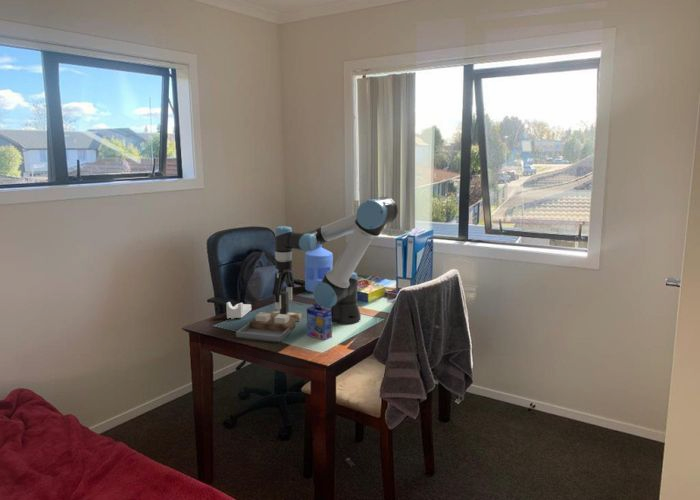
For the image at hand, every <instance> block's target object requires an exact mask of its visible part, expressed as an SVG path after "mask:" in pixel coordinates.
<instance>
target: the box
mask: <svg viewBox="0 0 700 500" xmlns="http://www.w3.org/2000/svg"><path fill="white" fill-rule="evenodd" d="M290 335H291V331H290V328H287V329H286V330H285V331H284V332H281V331H272V330H263V329H254V328H250V323H247V324H245V325H244V326H243V327H241V328H240V329H238V330H236V331H235V338H237V339H244V340H253V341H262V342H269V343H270V342H271V343H277V342H278V344H279V343H281V342H283V341H284V340H285V339H286V338H287V337H289V336H290Z"/></svg>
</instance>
